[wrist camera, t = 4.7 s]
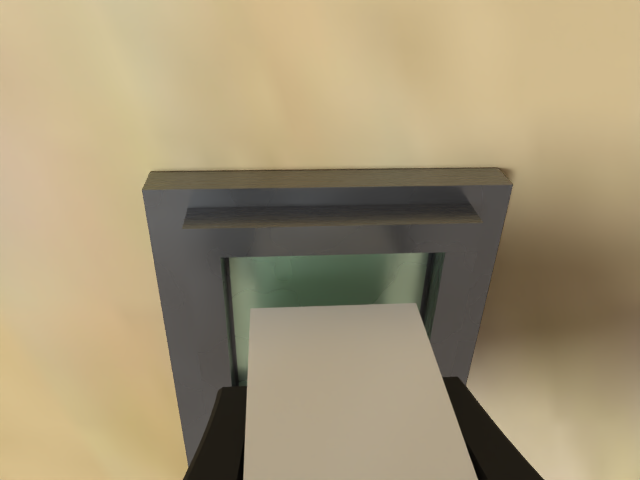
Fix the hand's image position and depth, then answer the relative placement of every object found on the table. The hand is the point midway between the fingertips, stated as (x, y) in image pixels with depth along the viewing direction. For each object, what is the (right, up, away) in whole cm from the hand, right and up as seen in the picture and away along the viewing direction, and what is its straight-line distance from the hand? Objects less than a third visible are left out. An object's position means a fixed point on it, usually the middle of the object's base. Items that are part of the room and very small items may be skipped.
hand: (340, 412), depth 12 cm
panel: (0, -2, +6) cm, 7 cm away
